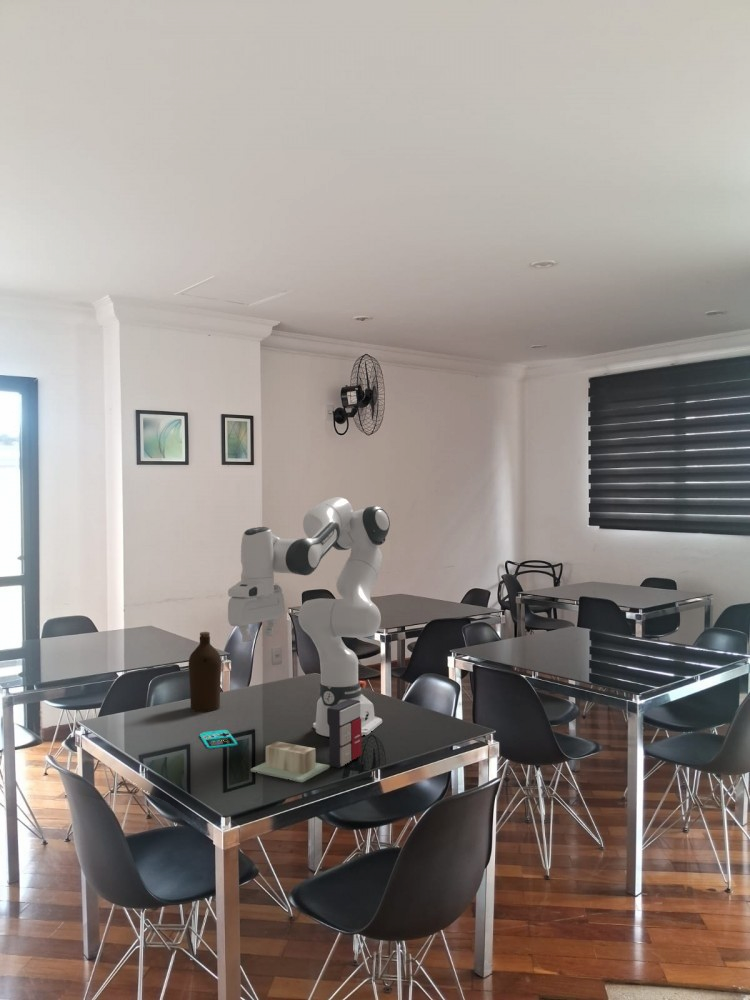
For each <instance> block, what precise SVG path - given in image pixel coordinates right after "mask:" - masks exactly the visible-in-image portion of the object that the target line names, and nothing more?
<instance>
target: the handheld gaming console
mask: <svg viewBox="0 0 750 1000" xmlns="http://www.w3.org/2000/svg"><path fill="white" fill-rule="evenodd" d="M200 737H201V738H200ZM199 738H200V739H201V740H202V742H203V744H204V746H205V745H206V746H205V747H206V749H209V750H212V749H213V748H215V749H220V748H222V747H223V748H229V746H230V747H236V746H238V742H237V740H236V739H235V738H234V736H233V735H232V734H231V733H230V732H229V730H227V729H220V730H212V731H211V730H210V731H204V732H202V733H201V732H200V734H199ZM214 740H216V741H217V742H216V741H214ZM220 740H221V741H220ZM222 740H223V741H224V740H230V743H229V742H227V743H220V742H222ZM210 742H213V743H214V742H215V743H214V744H213V745H212V743H210ZM224 742H225V741H224ZM213 750H214V749H213Z"/></svg>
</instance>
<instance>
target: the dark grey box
mask: <svg viewBox="0 0 750 1000" xmlns="http://www.w3.org/2000/svg"><path fill="white" fill-rule="evenodd" d="M360 715H361V713H360V701H359V700H352V699H347V700H345V701H343V702H341V703H338V704H336V705H334V706H331V707H329V708H328V709H327V723H328V725H329V737H328V738H329V739H328V741H329V744H328V745H329V746H328V747H329V749H328V751H329V756H328V758H329V765H330V767H331V768H337V769H341V768H342V767H344V766H346V765H348V764H349V763H351V762H352V760H353V761H354V759H355V760H356V759H358V758H360V757H361V756H362V736H361V718H360ZM359 756H360V757H359ZM357 757H358V758H357ZM350 761H351V762H350ZM347 763H348V764H347ZM345 764H346V765H345Z"/></svg>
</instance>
